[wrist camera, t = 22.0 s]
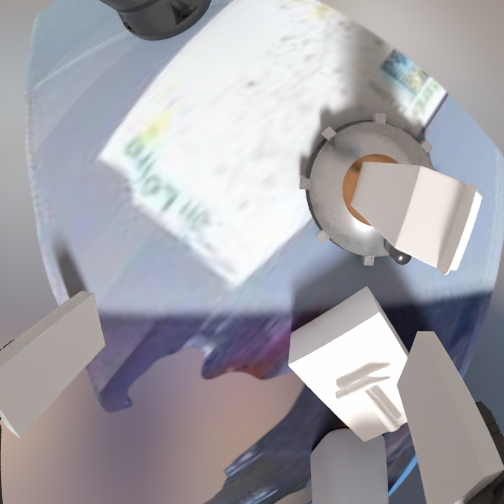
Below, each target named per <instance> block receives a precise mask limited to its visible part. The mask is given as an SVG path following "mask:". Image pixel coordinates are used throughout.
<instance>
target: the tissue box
mask: <svg viewBox="0 0 504 504" xmlns="http://www.w3.org/2000/svg"><path fill="white" fill-rule="evenodd" d="M408 356H409V353H408V351H407V349H406V347H405V346H404V344H403V342H402V341H401V339H400V337H399V336H398V334H397V332H396V331H395V329H394V327H393V326H392V324H391V322H390V321H389V319H388V318H387V316H386V314H385V313H384V311H383V310H382V308H381V306H380V305H379V303H378V302H377V300H376V298H375V297H374V295H373V294H372V292H371V291H370V289H369V288H368V286H366V287H364V288H363V289H361V290H360V291H358V292H357V293H355V294H354V295H352V296H350V297H349V298H347V299H346V300H344V301H343V302H341V303H340V304H338V305H337V306H335V307H333V308H332V309H330V310H329V311H327V312H325V313H324V314H322V315H320V316H319V317H317V318H316V319H314V320H312V321H311V322H309V323H307V324H306V325H304V326H302V327H301V328H299V329H297V330H295V331H294V332H292V333H291V340H290V352H289V363H288V365H289V366H290V367H291V368H292V370H293V371H294V372H295V373H296V374H297V375H298V376H299V377H300V378H301V379H302V380H303V381H304V382H305V383H306V384H307V385H308V386H309V387H310V388H311V389H312V391H313V392H314V393H315V394H316V395H317V396H318V397H319V398H320V399H321V400H322V401H323V402H324V403H325V404H326V405H327V406H328V407H329V408H330V409H331V410H332V411H333V412H334V413H335V414H336V415H337V416H338V417H339V418H340V419H341V420H342V421H343V422H344V423H345V424H346V425H347V426H348V427H349V428H350V429H351V430H352V431H353V432H354V433H355V434H356V435H357V436H358V437H359V438H360V439H362V440H363V441H364V442H366V441H368V440H370V439H373V438H375V437H377V436H379V435H381V434H384V433H386V432H388V431H389V432H393V431H396V430H397V429H399V428H400V426H401V425H402V424H404V423H406V422H407V418H406V415H405V411H404V408H403V405H402V401H401V398H400V395H399V392H398V389H397V386H396V384H397V382H398V380H399V378H400V375H401V373H402V370H403V368H404V366H405V363H406V361H407V358H408Z"/></svg>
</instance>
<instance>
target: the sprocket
mask: <svg viewBox="0 0 504 504" xmlns="http://www.w3.org/2000/svg"><path fill="white" fill-rule="evenodd" d="M321 135H322V136H323V137H324V138H325V139H326V140H327V142H326V143H325V145H324V146H323V147H322V149H321V150H320V151H319V153H318V155H317V157H316V159H315V161H314V164H313V167H312V171H311V175H310V178H300V189H306V190H310V198H311V203H312V207H313V211H314V213H315V216H316V218H317V220H318V222H319V224H320V226H321V227H322V228H321V229H320V230H319V231H318V232H317V233H315V234H316V237H317V238H318V240H319V241H320V242H321V243H322V244H324V243H325V242H326V241H327V240H328V239H330V238H331V239H332V240H333V241H334V242H335V243H336V244H338V245H339V246H341V247H342V248H344V249H346V250H347V251H350V252H352V253H354V254H358V255H362V263H363V265H368V266H373V265H374V258H375V257H381V256H387V255H390V256H391V257H392V258H393V259H394V260H395V261H396V263H398V264H400V265H404V264H407V263H408V262H409V261H410V259H411V257H412V256H411V255H409V254H406V253H404V252H402V251H400V250H398V249H396V248H394V247H393V246H392V245H391V244H390V243H389V242H388V241H387V240H386V239H385V238H384V237H383V236H382V235H381V234H380V233H379V232H378V231H377V230H376V229H375V228H374V227H373V226H372V225H371V224H370V223H369V222H368V221H367V220H366V219H365V218H364V217H363V216H362V215H361V214H360V213H358V212H357V211H356V210H355V209H354V208H353V207H352V206H351V201H352V198H353V195H354V191H355V188H356V185H357V181H358V178H359V174H360V171H361V167H362V164H363V162H379V163H395V164H408V165H420V166H424V167H427V168H429V169H432V170H434V169H433V166H432V163H431V161H430V159H429V157H428V155H427V153H428V152H429V151H430V150H431V149H432V147H431V145H430V144H429V143H428V141H427V140H422V141H421V142H420V143H418V142H417V141H416V140H415V139H414V138H413V137H412V136H410V135H409V134H408V133H406V132H405V131H403V130H401V129H399V128H397V127H395V126H392V125H389V124H386V114H382V113H374V114H373V122H364V123H359V124H355V125H352V126H349V127H347V128H345V129H343V130H341V131H340V132H338V133H336V132H335V131H334V130H333V129H332V128H331V127H330V126H329V127H328V128H326V129H325V130H324V131H323V132H322V133H321Z"/></svg>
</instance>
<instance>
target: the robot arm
mask: <svg viewBox="0 0 504 504" xmlns="http://www.w3.org/2000/svg"><path fill="white" fill-rule="evenodd" d="M100 1H101V2H103V3H105V4H107V5H108V6H110V7H112V8H113V9H115V10H117V12H118V14H119V16H120V18H121V20H122V22H123V24H124V26H125V27H126V28H127V30H128V31H130V32H131V33H132V34H134V35H136V36H137V37H139V38H141V39H144V40H151V41H156V40H163V39H167V38H170V37H173V36H176V35H178V34H180V33H182V32H184V31H185V30H187V29H188V28H190V27H191V26H192V25H194V24H195V23H196V22H197V21H198V20H199V19H200V18H201V17H202V16H203V15H204V13H205V12H206V10H207V9H208V7H209V5H210V2H211V0H100ZM104 346H105V341H104V337H103V333H102V329H101V325H100V320H99V316H98V311H97V306H96V301H95V296H94V293H90V292H86V291H80V292H79V293H77V294H76V295H74V296H73V297H72V298H70V299H69V300H67V301H66V302H65V303H63V304H62V305H60V306H59V307H58V308H56V309H55V310H53V311H52V312H51V313H49V314H48V315H47V316H45V317H44V318H43V319H41V320H40V321H39V322H37V323H36V324H35V325H33V326H32V327H30V328H29V329H28V330H26V331H25V332H24V333H23V334H21V335H20V336H19V337H17V338H16V339H14V340H12V341H10V342H9V343H8V344H7V345H5V346H4V347H3V349H0V420H1V419H2V420H3V422H4V423H5V424H6V426H7V428H8V429H9V430H10V431H12V432H13V433H14V434H15V435H17V436H18V437H19V438H22V437H23V435H24V434H25V433H26V432H27V431H28V430H29V428H30V427H31V426H32V425H33V424H34V423H35V422H36V420H37V419H38V418H39V417H40V416H41V415H42V414H43V412H44V411H45V410H46V409H47V408H48V407H49V406H50V405H51V403H52V402H53V401H54V400H55V399H56V398H57V397H58V396H59V395H60V393H61V392H62V391H63V390H64V389H65V388H66V387H67V386H68V385H69V384H70V382H71V381H72V380H73V379H74V378H75V377H76V376H77V375H78V374H79V373H80V372H81V370H83V368H84V367H85V366H86V365H87V364H88V363H89V362H90V361H91V360H92V359H93V358H94V357H95V356H96V355H97V354H98V353H99V352H100V350H101V349H102V348H103V347H104ZM396 386H397V389H398V392H399V395H400V398H401V401H402V405H403V408H404V411H405V415H406V418H407V422H408V425H409V429H410V433H411V436H412V440H413V444H414V448H415V452H416V456H417V460H418V464H419V469H420V473H421V478H422V482H423V487H424V492H425V497H426V502H427V504H504V437H503V435H502V433H500V429H499V427H498V425H497V424H496V421H495V419H494V417H493V415H492V413H491V411H490V410H489V409H488V408H487V407H486V406H485V405H484V404H483V403H482V402H481V401H480V402H474V400H473V398H472V397H471V394H470V393H469V391H468V389H467V387H466V385H465V383H464V381H463V380H462V378H461V376H460V374H459V373H458V371H457V369H456V367H455V366H454V364H453V362H452V360H451V359H450V357H449V355H448V354H447V352H446V350H445V349H444V347H443V346H442V344H441V342H440V341H439V339H438V338H437V336H436V334H435V333H434V332H432V331H417V334H416V337H415V339H414V342H413V345H412V348H411V350H410V353H409V356H408V358H407V361H406V363H405V366H404V368H403V370H402V373H401V375H400V378H399V380H398V382H397V384H396ZM0 452H1V425H0ZM0 455H1V453H0ZM0 459H1V456H0ZM0 461H1V460H0ZM0 464H1V462H0ZM0 504H3V501H2V488H1V465H0Z"/></svg>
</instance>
